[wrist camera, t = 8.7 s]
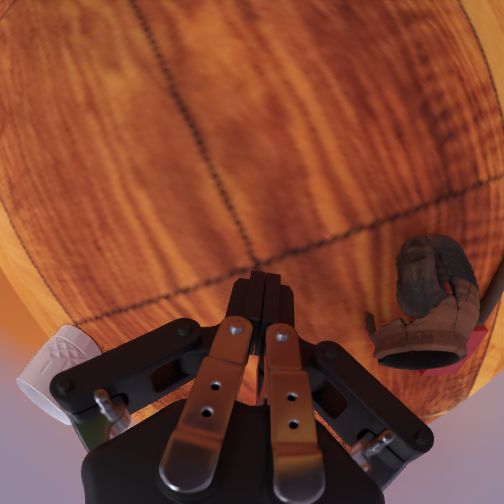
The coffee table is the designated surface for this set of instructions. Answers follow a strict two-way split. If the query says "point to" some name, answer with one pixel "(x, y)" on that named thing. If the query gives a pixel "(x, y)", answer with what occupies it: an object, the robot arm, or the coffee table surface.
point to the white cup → (55, 367)
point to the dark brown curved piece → (429, 307)
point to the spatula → (498, 285)
